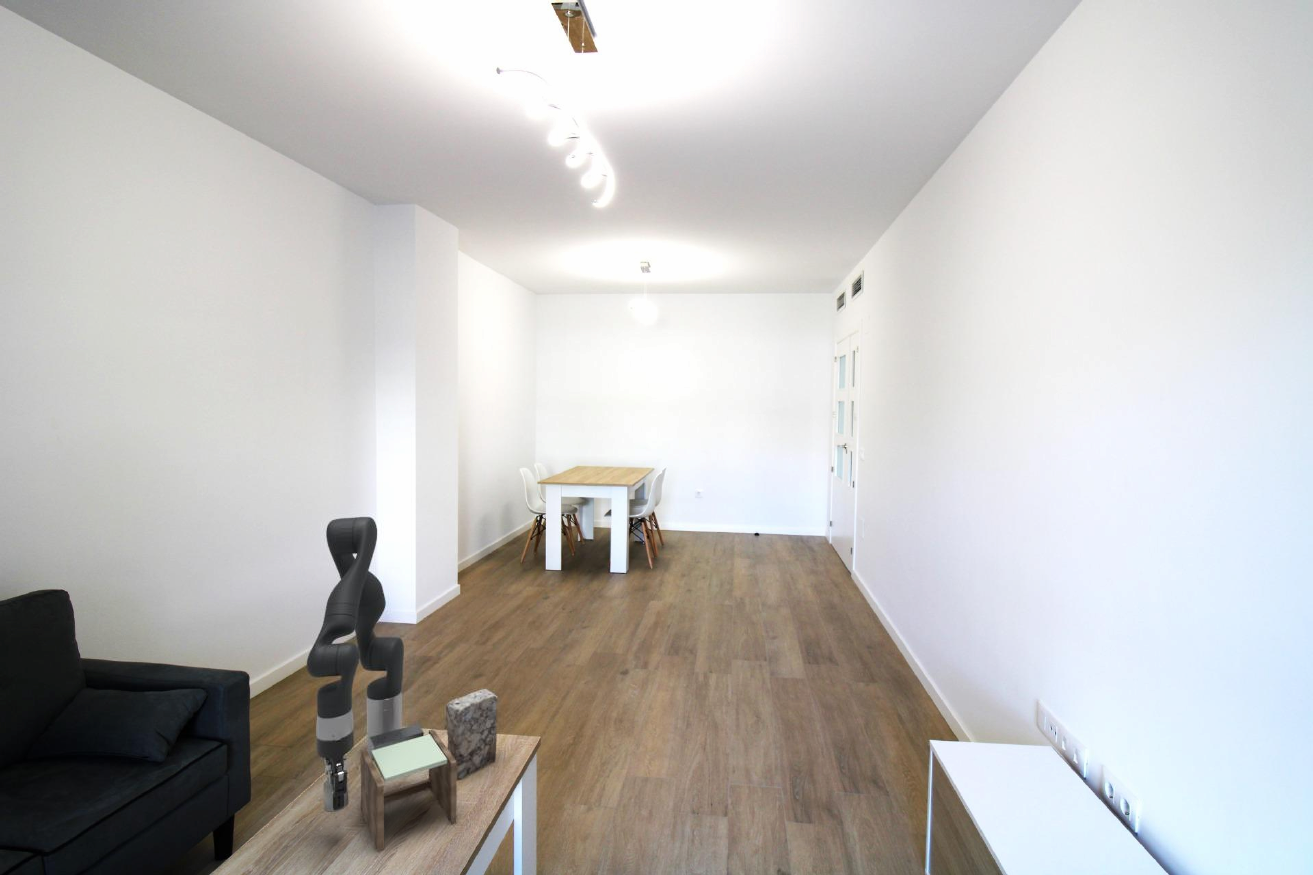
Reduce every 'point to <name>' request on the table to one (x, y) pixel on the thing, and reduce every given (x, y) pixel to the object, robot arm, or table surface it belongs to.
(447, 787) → the stand
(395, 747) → the trapdoor
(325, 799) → the smooth gray cylinder
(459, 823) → the table surface
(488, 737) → the stone block
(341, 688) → the robot arm
